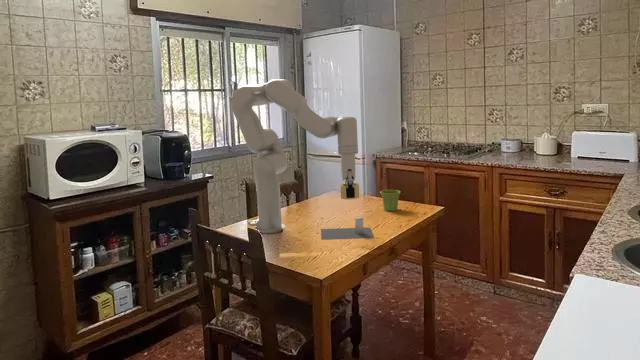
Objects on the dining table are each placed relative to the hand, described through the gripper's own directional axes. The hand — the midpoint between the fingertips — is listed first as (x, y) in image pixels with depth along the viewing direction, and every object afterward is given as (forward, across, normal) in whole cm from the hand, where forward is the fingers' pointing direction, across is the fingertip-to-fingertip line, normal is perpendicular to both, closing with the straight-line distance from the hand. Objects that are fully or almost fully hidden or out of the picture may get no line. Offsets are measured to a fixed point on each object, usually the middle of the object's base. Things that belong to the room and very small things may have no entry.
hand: (350, 195), depth 196 cm
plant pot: (+17, -40, +20) cm, 48 cm away
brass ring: (+1, 0, 0) cm, 1 cm away
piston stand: (+16, 0, -2) cm, 17 cm away
